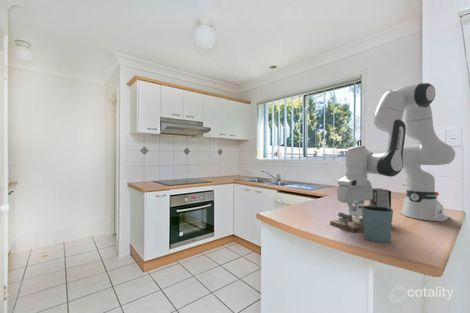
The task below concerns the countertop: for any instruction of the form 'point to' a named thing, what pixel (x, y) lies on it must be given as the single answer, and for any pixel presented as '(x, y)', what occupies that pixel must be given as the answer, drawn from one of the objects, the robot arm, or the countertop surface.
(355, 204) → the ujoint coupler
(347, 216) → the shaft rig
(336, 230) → the countertop surface
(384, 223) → the teal grey open container
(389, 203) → the coffee box
